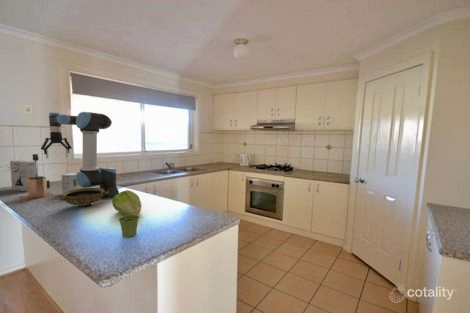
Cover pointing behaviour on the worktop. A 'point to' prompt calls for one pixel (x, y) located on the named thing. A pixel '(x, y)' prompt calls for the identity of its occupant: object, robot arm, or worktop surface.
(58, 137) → the robot arm
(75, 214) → the worktop surface
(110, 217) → the worktop surface
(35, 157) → the plunger
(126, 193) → the lettuce
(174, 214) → the worktop surface
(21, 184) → the cereal box
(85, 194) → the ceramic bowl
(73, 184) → the supplement box
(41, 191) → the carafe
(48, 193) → the trivet
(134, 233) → the plant pot
